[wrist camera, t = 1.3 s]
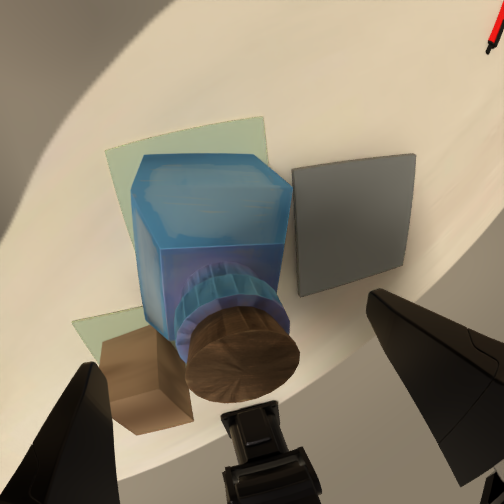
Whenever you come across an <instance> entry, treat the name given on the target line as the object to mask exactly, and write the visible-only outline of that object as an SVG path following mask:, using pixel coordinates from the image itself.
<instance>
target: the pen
mask: <svg viewBox="0 0 504 504" xmlns="http://www.w3.org/2000/svg"><path fill="white" fill-rule="evenodd" d="M503 29H504V1H503V4H502V7H501V9H500V12H499V15H498V17H497V20H496V23H495V25H494V28H493V30H492V33H491V35H490V37H489V40H488V44H489V45H488V48H487V50H486V54H489V53H490V51H491V48H492V49H494V48H496V47H497V45H498V42H499V40H500V37H501V35H502V32H503Z"/></svg>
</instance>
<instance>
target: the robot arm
mask: <svg viewBox="0 0 504 504" xmlns="http://www.w3.org/2000/svg"><path fill="white" fill-rule="evenodd" d="M366 314H367V317H368V319H369V321H370V323H371V325H372V327H373V329H374V331H375V333H376V335H377V338H378V339H379V342H380V344H381V346H382V348H383V350H384V352H385V354H386V355H387V357H388V359H389V360H390V362H391V363H392V365H393V366H394V368H395V370H396V372H397V373H398V375H399V376H400V378H401V380H402V382H403V383H404V385H405V387H406V388H407V390H408V392H409V393H410V395H411V397H412V399H413V400H414V402H415V404H416V406H417V407H418V409H419V411H420V412H421V414H422V416H423V418H424V419H425V421H426V423H427V425H428V426H429V428H430V430H431V432H432V434H433V436H434V437H435V439H436V441H437V443H439V444H438V445H439V447H440V449H441V451H442V453H443V454H444V457H445V458H446V460H447V462H448V464H449V466H450V468H451V470H452V472H453V474H454V476H455V478H456V480H457V482H458V484H459V485H460V487H462V486H464V485H466V484H467V483H469V482H471V481H472V480H474V479H475V478H477V477H479V476H480V475H482V474H483V473H484V472H486V471H488V470H489V469H491V468H492V467H493V468H494V469H495V471H494V472H493V473H492V474H490V475H489V476H488V477H487V478H486V481H485V486H484V490H483V494H482V498H481V502H480V504H504V343H503V342H500V341H497V340H495V339H492V338H489V337H487V336H485V335H483V334H480V333H478V332H476V331H474V330H472V329H469V328H468V329H467V327H465V326H463V325H461V324H459V323H456V322H454V321H452V320H450V319H448V318H445V317H443V316H441V315H439V314H437V313H435V312H432V311H430V310H428V309H426V308H423V307H421V306H419V305H417V304H415V303H413V302H410V301H408V300H406V299H404V298H401V297H399V296H397V295H395V294H392V293H390V292H388V291H386V290H384V289H380V288H379V289H376V290H373V291H370V292H369V294H368V300H367V306H366ZM221 421H222V423H223V425H224V427H225V429H226V431H227V433H228V435H229V437H230V438H231V439H232V441H233V445H234V449H235V453H236V456H237V460H238V463H239V465H236V466H232V467H230V466H228V467H225V471H224V472H223V473H222V474H223V478H224V482H225V488H226V496H227V504H321V502H320V500H319V497H318V495H321V494H322V489H321V485H320V482H319V479H318V477H317V474H316V473H315V471H314V468H313V466H312V464H311V462H310V460H309V458H308V456H307V454H306V453H305V450H304V448H303V447H299V448H298V449H295V450H292V451H289V450H288V448H287V445H286V442H285V440H284V437H283V434H282V432H281V429H280V419H279V410H278V404H277V402H276V401H274V402H270V403H266V404H263V405H259V406H256V407H252V408H248V409H244V410H240V411H236V412H232V413H228V414H224V415H222V416H221ZM238 480H239V482H238ZM0 504H120V500H119V493H118V484H117V475H116V464H115V452H114V436H113V422H112V414H111V407H110V399H109V391H108V382H107V379H106V377H105V375H104V374H103V372H102V371H101V370H100V368H99V367H98V366H97V364H96V363H95V362H85V363H83V364H81V366H80V367H79V369H78V370H77V372H76V373H75V375H74V376H73V378H72V379H71V381H70V382H69V384H68V386H67V387H66V389H65V390H64V392H63V393H62V395H61V396H60V398H59V400H58V401H57V403H56V404H55V406H54V408H53V409H52V411H51V413H50V414H49V416H48V417H47V419H46V421H45V422H44V424H43V426H42V427H41V429H40V431H39V433H38V434H37V436H36V438H35V439H34V441H33V445H31V446H30V448H29V450H28V452H27V453H26V455H25V457H24V459H23V460H22V462H21V464H20V465H19V467H18V468H17V470H16V471H15V473H14V475H13V476H12V478H11V479H10V481H9V482H8V484H7V485H6V487H5V488H4V490H3V491H2V493H1V494H0Z"/></svg>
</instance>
